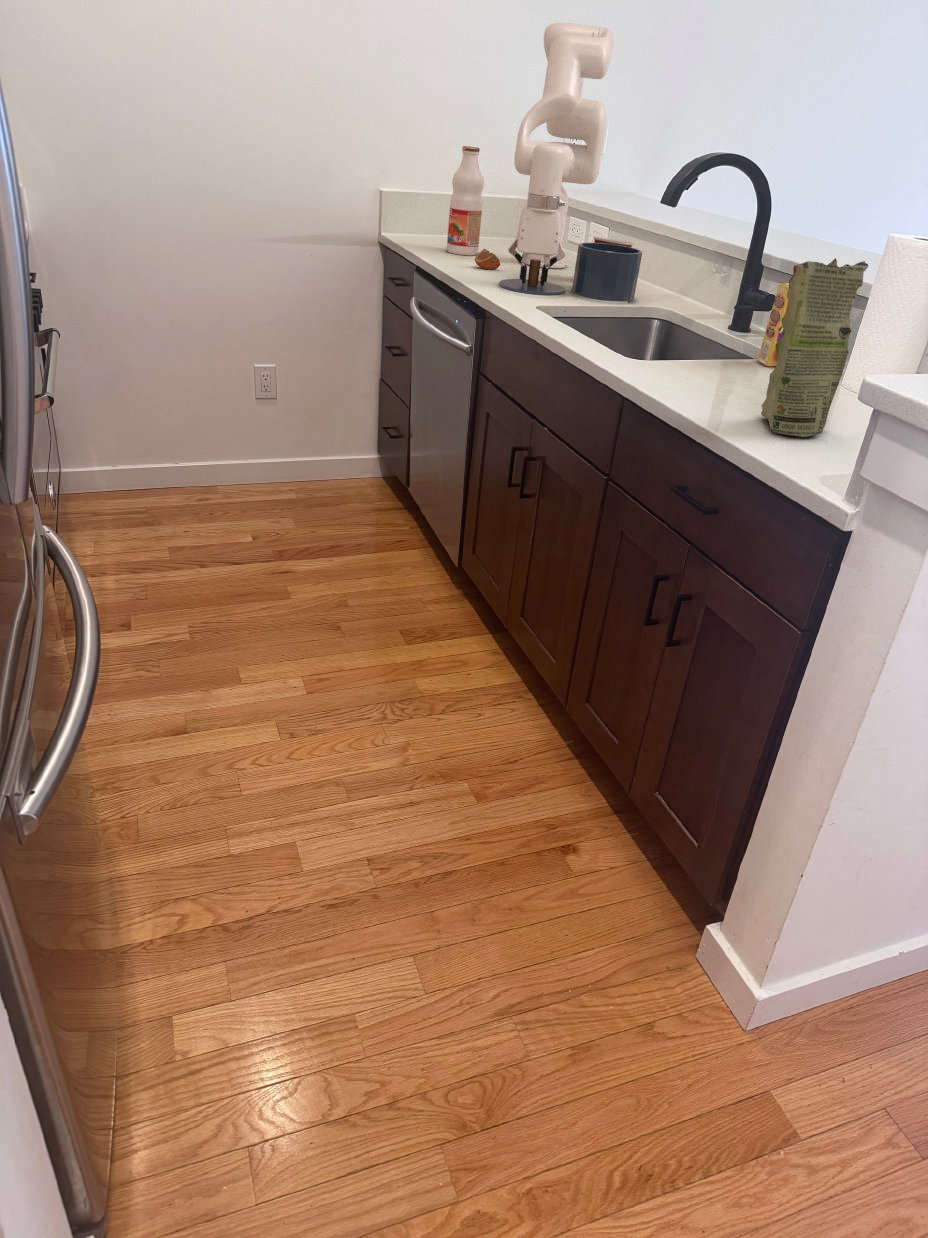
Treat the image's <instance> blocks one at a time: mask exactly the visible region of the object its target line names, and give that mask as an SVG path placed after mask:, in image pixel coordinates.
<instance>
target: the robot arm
mask: <svg viewBox="0 0 928 1238" xmlns="http://www.w3.org/2000/svg"><path fill="white" fill-rule="evenodd" d="M543 48H544V49H543V50H544V54H545V57H546V61H547V65H546V71H545V77H544V84H543V91H542V97H541V99H539V100H538V101H537V102H536V103H535V104H534V105H533V106H532V107H531V108H530V109H529V110H528V111H527V112H526V114H525V115H524V117H523V118H522V120H521V123H520V125H519V128H518V133H517V137H516V144H515V151H514V161H513V162H514V168H515V170H516V172H517V173H519V174H521V175H524V176H529V184H528V192H527V200H526V206H524V207H522V210H521V214H520V218H519V223H518V229H517V236H516V238H515V240H514V241H513V243H511V245H510V246H509V248H508V249H507V250H508V251H507V252H508V253H509V254H510V255H511V256H512V257H514V258H515V259H516V261H517V262H518V264H519V265H520V271H519V279H521V280H522V284H524V283H525V281H526V279H527V274H528V273H527V272H528V266H530V259H538V260H541V264H540V268H541V272H540V273H541V274H540V279H539V281H540V284H541V286H544V282H548V274H549V269H563V268H565V267H566V261H564V260H562V259H565V257H566V254H565V252H564V250H563V246H564V237H565V231H566V223H567V217H568V210H569V196H568V193H567V191H566V190H565V188H564V186H563V184H562V183H570V184H579V185H592V184H594V183H595V182H596V181H597V179H598V177H599V173H600V168H601V163H602V154H603V150H604V149H603V148H604V142H605V136H606V135H605V134H606V126H607V108H606V106H605V104H604V103H603V102H602V101H599V100H595V99H586V98H582V93H583V86H584V79H591V80H602V79H603V78H604V77H605V76H606V75H607V73H608V72H609V67H610V65H611V64H610V63H611V59H612V55H613V50H614V34H613V31H612V29H610V28H609V27H606V26H598V25H588V24H581V23H571V22H553V23H551V24H548V25H547V26H546V27H545V29H544V32H543ZM543 124H546V131H547V133H548V134H549V135H550V136H552V137H556V138H561V139H569V140H575V141H576V140H577V141H584V143H585V144H578V143H571V142H562V141H542V140H531V139H530V137H531V134H532V132H533V131H535V130H536V129H537V128H539V127H540V126H542V125H543ZM516 249H517V250H516ZM519 252H520V253H522V254H520V253H519ZM527 265H528V266H527Z"/></svg>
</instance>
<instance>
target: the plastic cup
mask: <svg viewBox="0 0 928 1238" xmlns="http://www.w3.org/2000/svg"><path fill="white" fill-rule="evenodd" d="M592 237H593V241H594V242H593V243H606V244H615V245H621V246H627V247H631V248H633V246H634V244H635V243H634V242H631V241H627V240H623V239H616V238H612V237H605V236H597V235H595V236H594V235H593V236H592Z"/></svg>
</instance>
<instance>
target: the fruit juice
mask: <svg viewBox="0 0 928 1238" xmlns="http://www.w3.org/2000/svg"><path fill="white" fill-rule="evenodd" d="M480 149H481V148H480V147H477V146H470V145H463V146H462V149H461V153H462V159H461V162H460V165H459V167H458V169H457V170H456V171H455V172H454V174H453V175H452V181H451V182H452V183H451V185H452V194H451V197H450V201H449V213H448V214H449V215H448V216H449V217H448V224H447V226H448V227H447V240H446V252H448V253H450V254H453V255H460V256H461V255H462V256H477V255H478V254H479V247H480V246H479V245H480V236H481V235H480V234H481V226H482V225H481V223H482V215H483V197H482V192H483V190H484V186H485V179H484V176H483V174H482V172H481V170H480V166H479V155H480V151H481V150H480Z"/></svg>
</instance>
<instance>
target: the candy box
mask: <svg viewBox="0 0 928 1238" xmlns="http://www.w3.org/2000/svg"><path fill="white" fill-rule="evenodd" d="M788 289H789V282H785V281H784V282H783V281H780V282H778V286H777V290H776V294H775V297H774V301H773V304H772V308H771V312H770V315H769V318H768V321H767V324H766V329H765V332H764V336H763V339H762V342H761V346H760V350H759V353H758V357H757V362H759V363H760V364H762V365H764V366H765V367H776V366H777V358H778V355H777V351H776V343H777V342H779V340H780V339H781V334H782V332H783V324H782V318H783V317H784V315H785V313H786V309H787V304H788V299H787V293H788Z"/></svg>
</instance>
